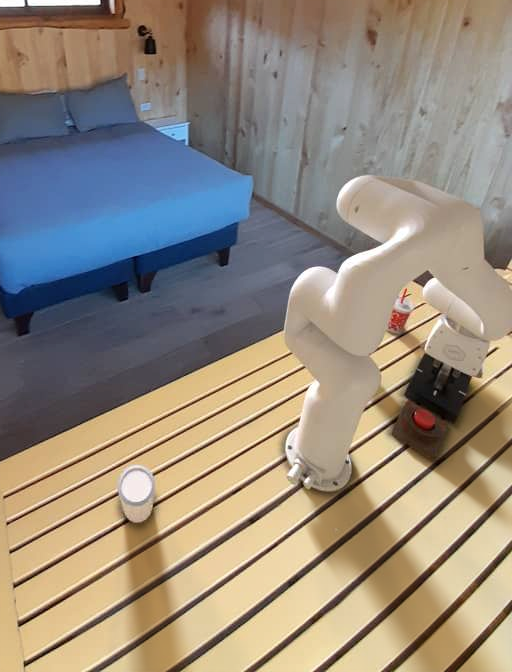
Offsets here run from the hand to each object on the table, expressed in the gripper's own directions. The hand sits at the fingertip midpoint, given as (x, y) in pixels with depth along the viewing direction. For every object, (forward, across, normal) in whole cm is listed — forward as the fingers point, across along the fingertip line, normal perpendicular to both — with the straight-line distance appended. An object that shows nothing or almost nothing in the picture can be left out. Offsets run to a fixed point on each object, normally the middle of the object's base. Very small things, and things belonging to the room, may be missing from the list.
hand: (441, 379), depth 94 cm
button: (+1, 0, -14) cm, 14 cm away
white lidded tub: (+4, -33, -67) cm, 75 cm away
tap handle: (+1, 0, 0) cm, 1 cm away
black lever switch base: (+4, 0, 0) cm, 4 cm away
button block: (+4, 0, -14) cm, 14 cm away
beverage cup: (+4, -14, +14) cm, 20 cm away
